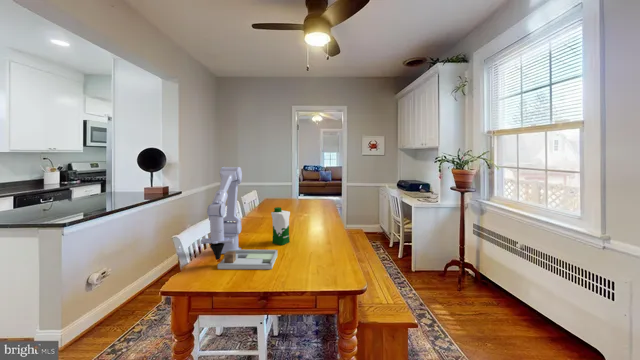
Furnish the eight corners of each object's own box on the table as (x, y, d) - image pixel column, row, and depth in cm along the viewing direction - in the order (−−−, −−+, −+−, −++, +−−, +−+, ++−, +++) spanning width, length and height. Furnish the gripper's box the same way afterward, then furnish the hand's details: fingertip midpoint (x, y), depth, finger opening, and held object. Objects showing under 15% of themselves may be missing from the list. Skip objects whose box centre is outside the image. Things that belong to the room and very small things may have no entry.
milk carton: (280, 239, 166) (279, 206, 164) (292, 242, 161) (291, 207, 159) (270, 243, 158) (269, 208, 156) (282, 246, 154) (282, 210, 152)
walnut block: (224, 263, 127) (224, 254, 126) (227, 259, 131) (227, 251, 130) (233, 263, 127) (232, 254, 126) (235, 259, 131) (235, 251, 130)
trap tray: (217, 268, 124) (217, 262, 124) (229, 255, 140) (229, 249, 140) (271, 269, 124) (271, 262, 124) (277, 255, 140) (277, 249, 140)
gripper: (197, 232, 123) (198, 262, 125) (230, 232, 123) (231, 262, 124) (204, 228, 130) (205, 256, 132) (235, 228, 130) (235, 256, 131)
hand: (218, 258), depth 129 cm, fingers closed
